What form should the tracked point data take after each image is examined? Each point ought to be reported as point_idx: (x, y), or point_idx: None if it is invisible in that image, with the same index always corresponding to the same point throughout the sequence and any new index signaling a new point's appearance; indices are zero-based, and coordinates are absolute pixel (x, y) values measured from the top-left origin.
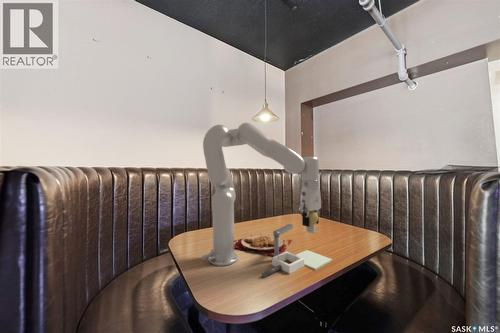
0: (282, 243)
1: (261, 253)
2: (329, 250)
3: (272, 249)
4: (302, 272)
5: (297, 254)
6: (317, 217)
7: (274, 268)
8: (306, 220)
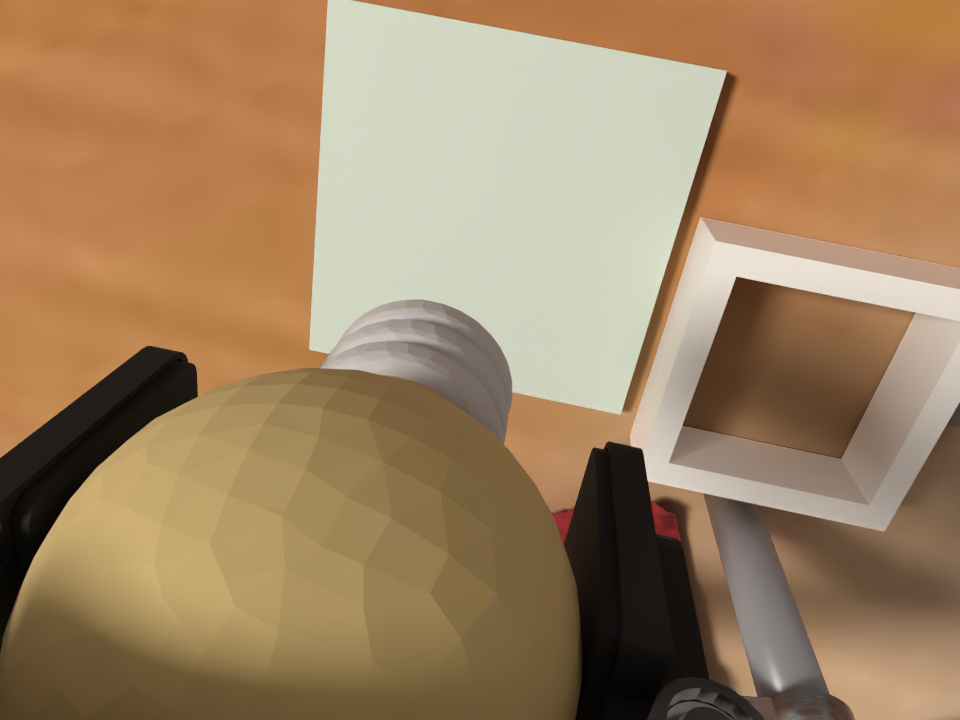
0: None
1: None
2: (81, 138)
3: None
4: (862, 173)
5: None
6: (285, 418)
7: None
8: (670, 613)
